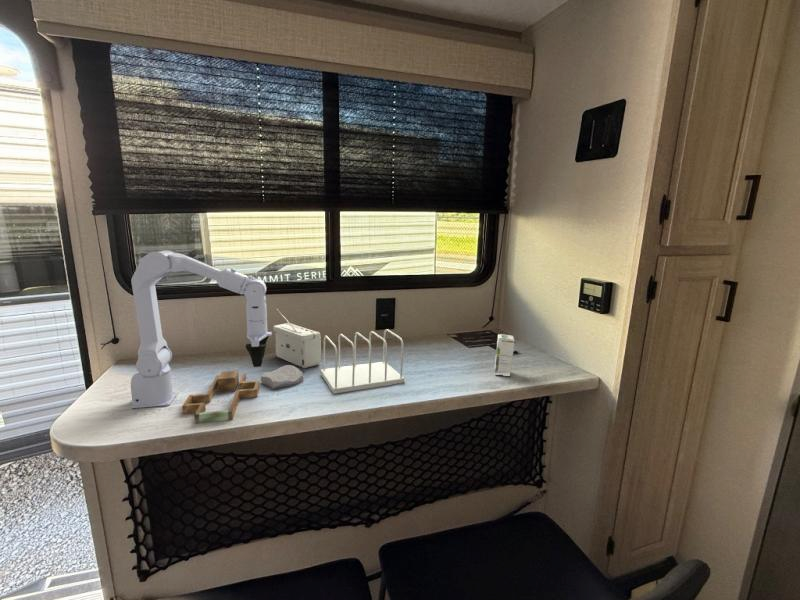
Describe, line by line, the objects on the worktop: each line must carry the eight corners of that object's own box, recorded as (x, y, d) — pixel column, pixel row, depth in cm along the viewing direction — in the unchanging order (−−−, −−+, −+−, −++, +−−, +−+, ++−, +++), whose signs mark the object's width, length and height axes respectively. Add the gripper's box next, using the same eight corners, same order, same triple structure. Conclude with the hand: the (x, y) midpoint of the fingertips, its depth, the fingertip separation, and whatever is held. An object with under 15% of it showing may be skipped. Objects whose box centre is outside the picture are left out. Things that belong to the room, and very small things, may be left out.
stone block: (306, 385, 126) (289, 372, 131) (307, 373, 124) (290, 360, 130) (275, 398, 117) (259, 383, 122) (276, 385, 115) (259, 371, 121)
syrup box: (494, 370, 140) (497, 333, 137) (510, 371, 138) (513, 335, 136) (494, 375, 134) (497, 337, 131) (511, 377, 133) (514, 339, 130)
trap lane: (175, 425, 95) (175, 416, 94) (202, 383, 120) (201, 376, 120) (252, 417, 100) (252, 409, 99) (261, 379, 125) (261, 372, 125)
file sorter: (333, 394, 115) (333, 347, 112) (320, 374, 131) (319, 332, 128) (404, 383, 126) (406, 339, 123) (384, 365, 141) (385, 326, 138)
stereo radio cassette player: (322, 365, 140) (321, 314, 136) (303, 370, 134) (302, 317, 130) (290, 352, 153) (289, 305, 149) (272, 357, 147) (271, 308, 143)
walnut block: (218, 392, 114) (217, 378, 114) (222, 384, 120) (221, 371, 119) (235, 391, 116) (235, 377, 115) (238, 383, 121) (238, 370, 121)
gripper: (269, 324, 105) (270, 369, 107) (272, 313, 118) (273, 353, 121) (242, 325, 103) (244, 371, 105) (249, 314, 116) (251, 354, 119)
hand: (258, 362), depth 113 cm, fingers open, 7 cm apart
